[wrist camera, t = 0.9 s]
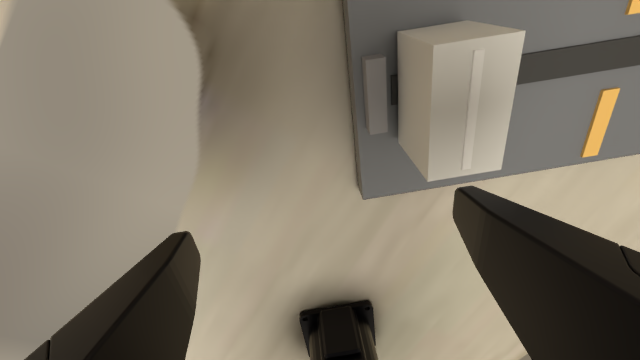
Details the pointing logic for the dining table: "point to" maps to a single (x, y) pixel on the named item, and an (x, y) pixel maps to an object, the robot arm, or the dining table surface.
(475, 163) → the fader cap
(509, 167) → the grey fader track
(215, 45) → the dining table surface
